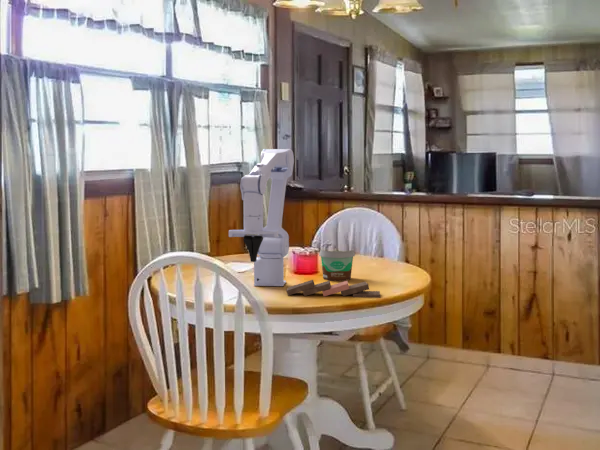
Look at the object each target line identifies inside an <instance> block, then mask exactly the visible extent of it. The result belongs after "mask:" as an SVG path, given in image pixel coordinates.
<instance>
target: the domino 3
mask: <svg viewBox="0 0 600 450" xmlns="http://www.w3.org/2000/svg"><path fill="white" fill-rule="evenodd" d="M349 286H350V285H349V282H348V280H346V281H340V282H338V283H335V284H331V287H330V289H327V290H324V291H321V292H322V294H323V295H322V296H323V297H327V296H331V295H333V294H337V293H341V291H344V290H347V289H350V288H349Z"/></svg>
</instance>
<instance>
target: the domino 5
mask: <svg viewBox="0 0 600 450" xmlns="http://www.w3.org/2000/svg"><path fill="white" fill-rule="evenodd" d="M352 298H377V299H378V298H381V291H380V290H365V291H361V292H357V293H354V294H352Z"/></svg>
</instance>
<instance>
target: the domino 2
mask: <svg viewBox="0 0 600 450" xmlns="http://www.w3.org/2000/svg"><path fill="white" fill-rule="evenodd" d="M331 285H332V284H331V281H329V280H325V281H323V282H320V283H315V285H314V287H313V288H311V289H308V290H304V291H302V293H303V296H304V297H306V296H310V295H313V294H316V293H320V292H322V291H324V290H327V289H330V287H331Z"/></svg>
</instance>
